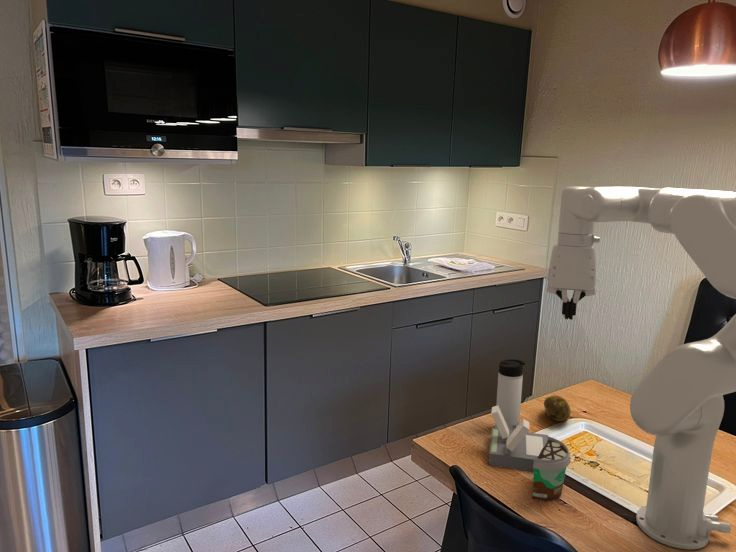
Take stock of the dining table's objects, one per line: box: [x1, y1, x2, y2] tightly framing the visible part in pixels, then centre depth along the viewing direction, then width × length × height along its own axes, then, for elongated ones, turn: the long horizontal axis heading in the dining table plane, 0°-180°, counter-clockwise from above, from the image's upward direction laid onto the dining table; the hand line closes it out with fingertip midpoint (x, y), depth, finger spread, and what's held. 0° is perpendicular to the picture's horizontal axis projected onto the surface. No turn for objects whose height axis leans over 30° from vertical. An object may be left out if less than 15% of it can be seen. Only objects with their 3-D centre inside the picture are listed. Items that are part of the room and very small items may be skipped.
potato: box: [543, 394, 572, 422], centre depth 153 cm, size 8×13×8 cm, turn 142°
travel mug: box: [494, 358, 526, 431], centre depth 145 cm, size 6×7×20 cm
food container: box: [531, 435, 571, 502], centre depth 118 cm, size 12×6×10 cm, turn 148°
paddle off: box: [505, 418, 530, 455], centre depth 129 cm, size 2×4×8 cm, turn 165°
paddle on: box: [491, 405, 509, 443], centre depth 136 cm, size 2×4×8 cm, turn 165°
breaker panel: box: [488, 427, 549, 472], centre depth 134 cm, size 14×14×3 cm
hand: (568, 317), depth 129 cm, fingers closed
